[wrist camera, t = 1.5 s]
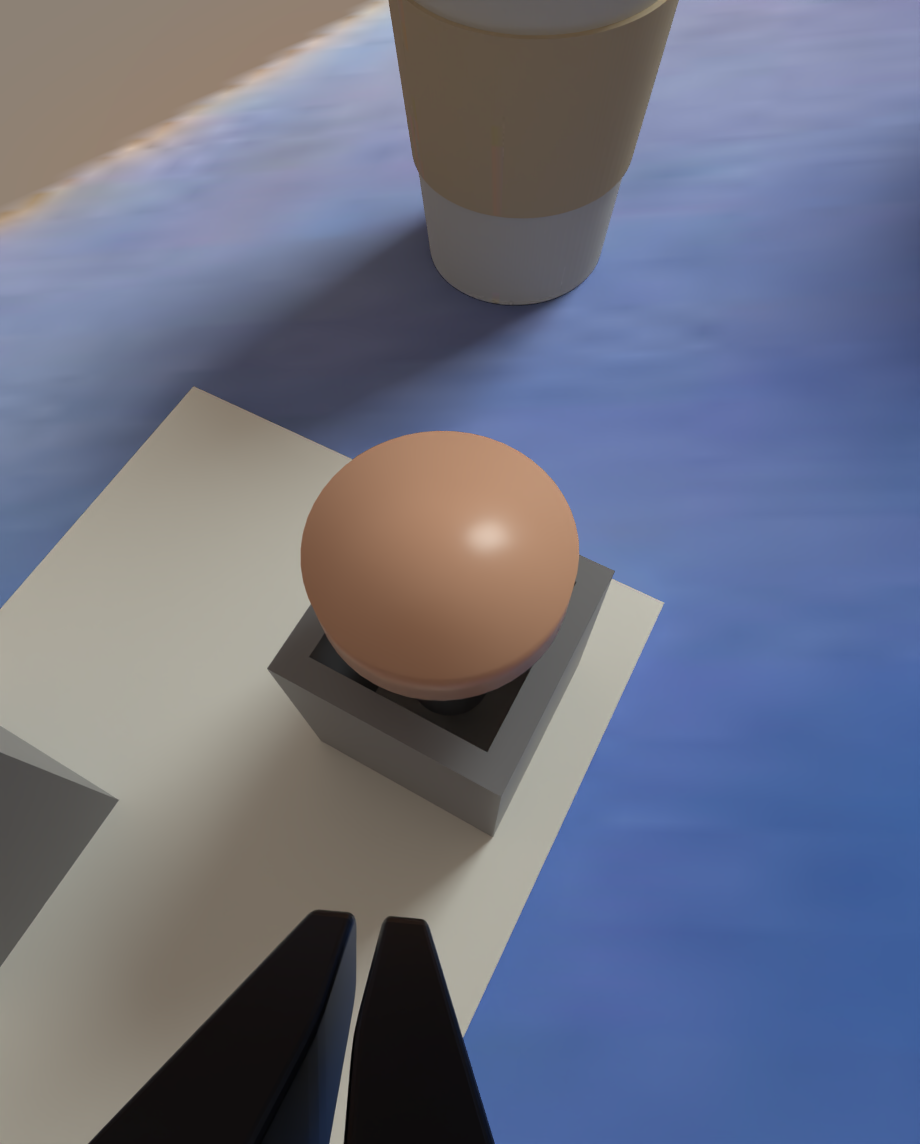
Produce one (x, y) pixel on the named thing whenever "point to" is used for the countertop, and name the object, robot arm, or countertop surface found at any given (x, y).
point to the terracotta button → (440, 566)
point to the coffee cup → (524, 131)
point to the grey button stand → (244, 771)
